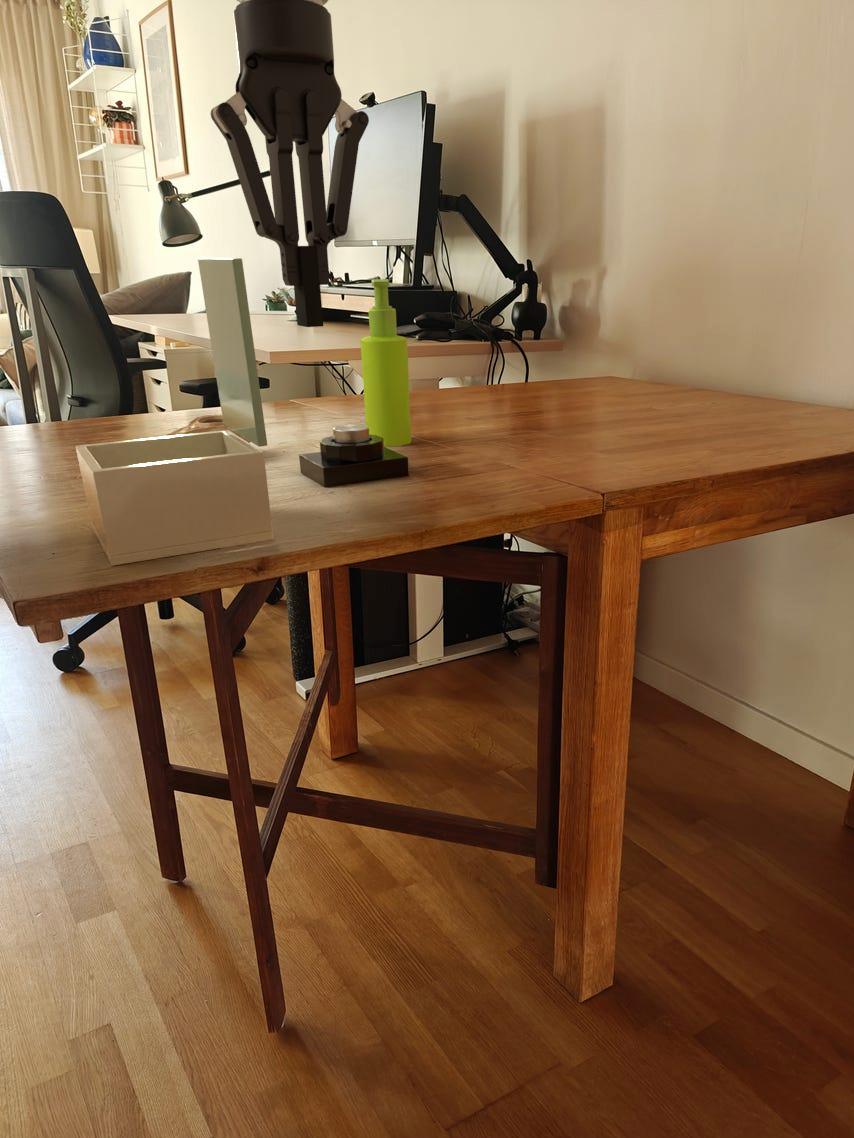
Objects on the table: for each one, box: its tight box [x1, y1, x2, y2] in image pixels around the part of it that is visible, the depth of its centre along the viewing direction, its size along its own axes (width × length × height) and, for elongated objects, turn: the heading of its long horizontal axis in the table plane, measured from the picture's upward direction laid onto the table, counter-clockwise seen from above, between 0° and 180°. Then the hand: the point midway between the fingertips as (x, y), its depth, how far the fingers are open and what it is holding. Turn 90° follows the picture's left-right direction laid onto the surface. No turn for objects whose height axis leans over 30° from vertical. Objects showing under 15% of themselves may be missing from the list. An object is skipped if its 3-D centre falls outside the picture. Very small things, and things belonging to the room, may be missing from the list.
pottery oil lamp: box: [163, 414, 251, 444], centre depth 104 cm, size 9×12×7 cm
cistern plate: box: [298, 434, 410, 489], centre depth 97 cm, size 10×8×4 cm
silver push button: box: [332, 423, 370, 444], centre depth 96 cm, size 4×4×2 cm
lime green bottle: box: [359, 278, 412, 448], centre depth 111 cm, size 6×7×20 cm
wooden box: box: [75, 430, 274, 567], centre depth 76 cm, size 14×12×8 cm
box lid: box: [197, 257, 268, 448], centre depth 75 cm, size 15×12×1 cm
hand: (310, 325), depth 77 cm, fingers closed
